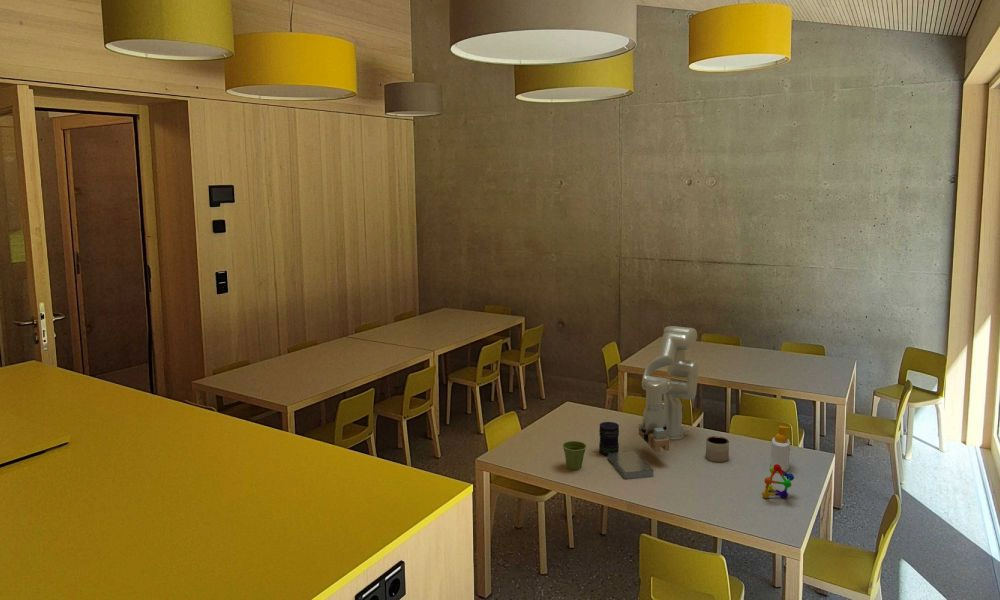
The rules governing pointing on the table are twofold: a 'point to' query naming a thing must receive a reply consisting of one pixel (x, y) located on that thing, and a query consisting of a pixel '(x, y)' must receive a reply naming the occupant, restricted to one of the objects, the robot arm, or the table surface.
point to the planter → (717, 449)
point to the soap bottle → (780, 449)
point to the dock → (630, 465)
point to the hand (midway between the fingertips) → (653, 439)
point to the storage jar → (608, 438)
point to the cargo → (659, 433)
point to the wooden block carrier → (655, 441)
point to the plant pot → (574, 454)
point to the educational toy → (777, 482)
